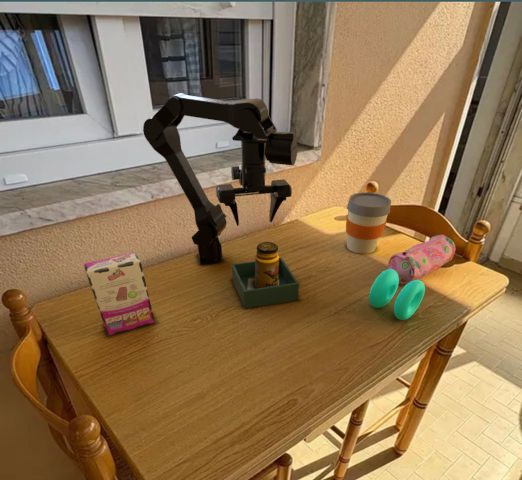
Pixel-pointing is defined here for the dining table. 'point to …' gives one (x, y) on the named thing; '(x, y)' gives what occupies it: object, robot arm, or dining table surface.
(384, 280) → the donuts
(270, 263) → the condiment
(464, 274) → the dining table surface
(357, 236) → the reusable coffee cup
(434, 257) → the pencil case
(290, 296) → the square tray
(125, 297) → the candy bar box
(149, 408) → the dining table surface
